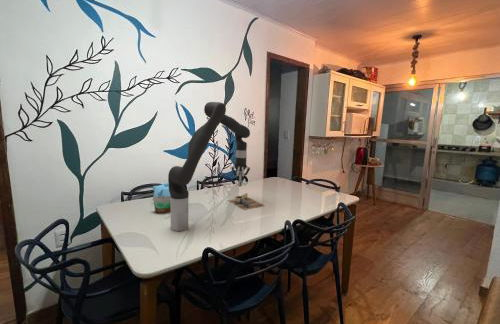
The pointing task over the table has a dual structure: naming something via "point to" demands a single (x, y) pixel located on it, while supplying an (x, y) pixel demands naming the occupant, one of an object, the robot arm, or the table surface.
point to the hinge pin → (240, 178)
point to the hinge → (242, 200)
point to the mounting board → (252, 205)
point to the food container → (161, 204)
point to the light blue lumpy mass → (161, 190)
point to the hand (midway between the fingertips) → (240, 181)
